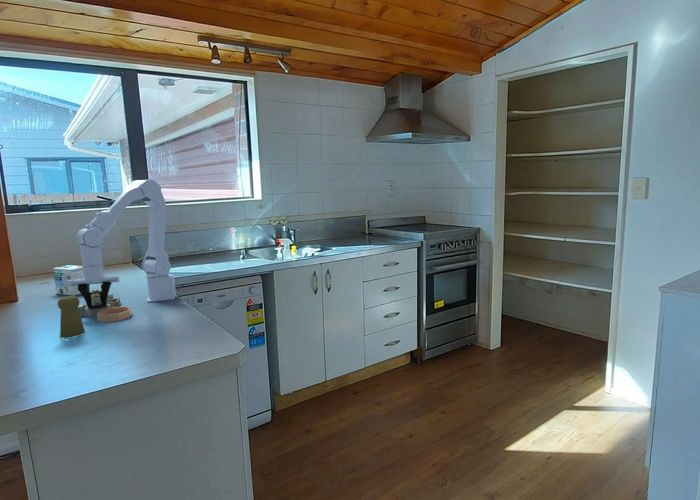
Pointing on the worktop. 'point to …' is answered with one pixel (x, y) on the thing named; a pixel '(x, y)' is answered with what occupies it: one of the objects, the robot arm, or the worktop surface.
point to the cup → (114, 314)
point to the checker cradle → (91, 310)
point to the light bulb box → (67, 279)
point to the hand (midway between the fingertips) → (97, 305)
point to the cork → (70, 317)
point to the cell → (96, 299)
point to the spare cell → (110, 298)
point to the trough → (112, 303)
